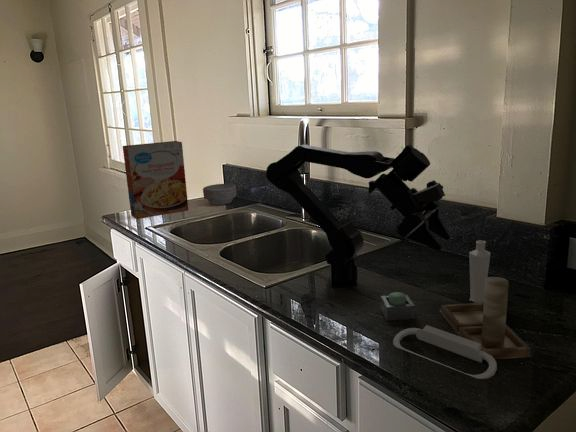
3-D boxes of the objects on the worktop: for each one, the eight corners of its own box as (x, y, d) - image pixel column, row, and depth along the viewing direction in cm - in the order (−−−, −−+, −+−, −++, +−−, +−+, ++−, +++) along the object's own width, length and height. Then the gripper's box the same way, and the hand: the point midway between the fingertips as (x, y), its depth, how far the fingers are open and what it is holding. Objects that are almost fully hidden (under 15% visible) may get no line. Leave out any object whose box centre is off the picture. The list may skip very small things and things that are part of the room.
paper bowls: (197, 204, 230) (195, 187, 228) (221, 198, 241) (220, 182, 239) (219, 208, 220) (218, 190, 218) (244, 201, 232) (242, 185, 230)
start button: (390, 316, 108) (391, 299, 107) (387, 309, 111) (387, 292, 110) (407, 315, 108) (407, 298, 107) (403, 308, 111) (403, 291, 110)
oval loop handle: (386, 354, 98) (383, 339, 96) (409, 330, 102) (406, 316, 101) (484, 396, 84) (483, 379, 82) (506, 366, 88) (505, 350, 87)
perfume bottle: (478, 309, 112) (482, 246, 108) (463, 302, 116) (466, 241, 112) (493, 305, 114) (497, 242, 110) (478, 298, 118) (481, 237, 114)
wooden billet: (486, 350, 93) (490, 285, 90) (478, 340, 97) (481, 277, 94) (507, 349, 93) (512, 284, 90) (498, 338, 97) (502, 276, 94)
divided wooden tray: (477, 364, 90) (477, 352, 90) (438, 314, 111) (439, 303, 110) (531, 361, 90) (532, 349, 90) (483, 311, 111) (484, 301, 110)
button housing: (386, 324, 107) (386, 307, 106) (380, 312, 113) (380, 296, 112) (414, 322, 107) (414, 305, 106) (406, 310, 113) (407, 294, 112)
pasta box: (136, 219, 208) (127, 147, 200) (131, 215, 214) (122, 145, 207) (188, 210, 219) (181, 142, 212) (181, 207, 226) (175, 140, 219)
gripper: (412, 178, 106) (463, 233, 103) (433, 165, 121) (478, 212, 119) (376, 211, 111) (424, 264, 109) (400, 194, 127) (443, 240, 125)
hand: (444, 244), depth 115 cm, fingers open, 8 cm apart
